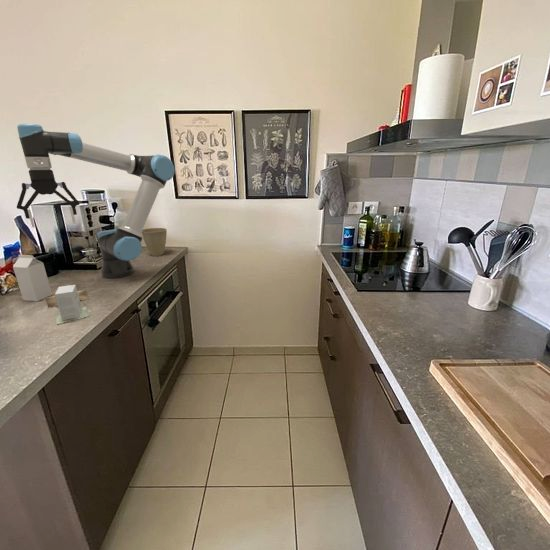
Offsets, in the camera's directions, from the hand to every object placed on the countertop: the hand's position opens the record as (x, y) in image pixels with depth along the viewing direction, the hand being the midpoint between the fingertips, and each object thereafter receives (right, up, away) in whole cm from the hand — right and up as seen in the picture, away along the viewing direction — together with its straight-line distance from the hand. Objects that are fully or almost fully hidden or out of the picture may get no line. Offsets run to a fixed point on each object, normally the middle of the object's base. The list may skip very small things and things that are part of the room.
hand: (54, 224), depth 122 cm
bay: (+10, -34, -5) cm, 36 cm away
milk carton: (-12, -30, +7) cm, 34 cm away
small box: (+13, -35, -9) cm, 39 cm away
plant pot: (+14, -7, +71) cm, 73 cm away
